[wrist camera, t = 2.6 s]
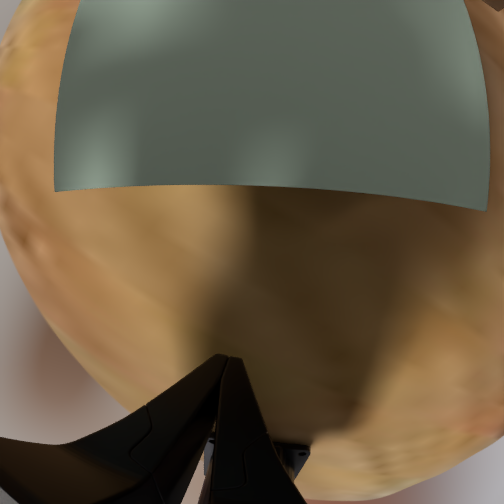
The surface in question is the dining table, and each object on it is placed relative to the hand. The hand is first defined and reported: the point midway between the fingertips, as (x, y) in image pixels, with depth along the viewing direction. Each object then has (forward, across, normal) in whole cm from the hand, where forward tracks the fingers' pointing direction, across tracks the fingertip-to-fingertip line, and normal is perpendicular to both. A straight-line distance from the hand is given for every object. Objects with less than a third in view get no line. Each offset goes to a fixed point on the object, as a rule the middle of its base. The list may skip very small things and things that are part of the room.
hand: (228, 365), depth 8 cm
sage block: (+4, 0, -9) cm, 10 cm away
